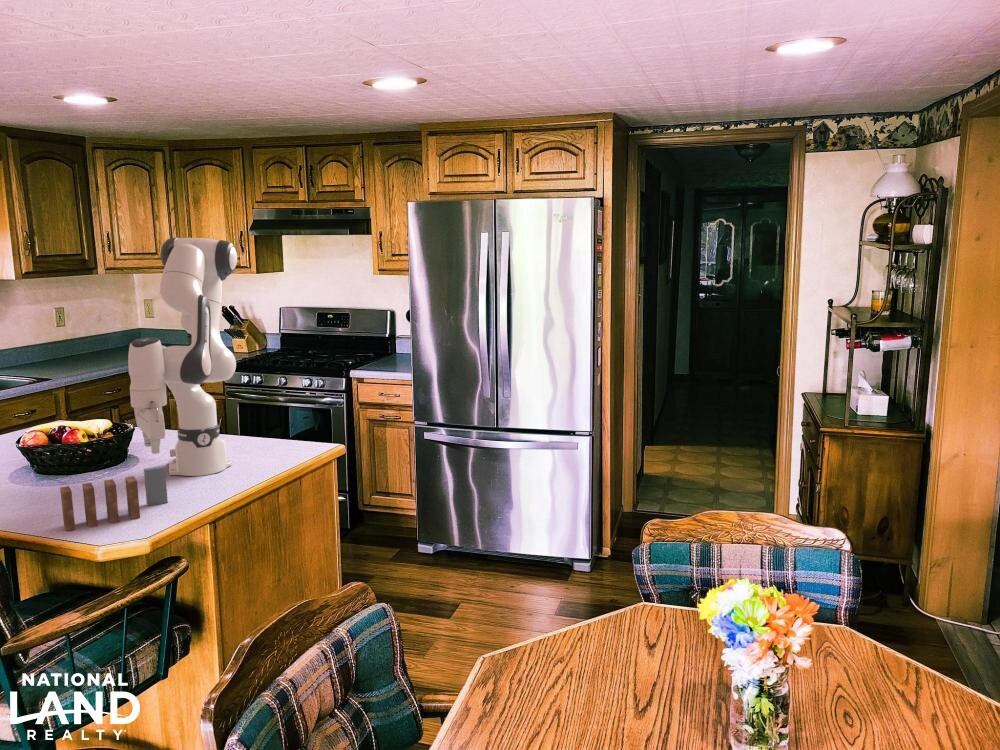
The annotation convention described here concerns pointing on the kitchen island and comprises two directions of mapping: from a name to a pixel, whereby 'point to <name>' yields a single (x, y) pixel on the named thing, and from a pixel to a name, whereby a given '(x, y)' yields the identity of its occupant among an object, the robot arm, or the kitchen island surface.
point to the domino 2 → (89, 504)
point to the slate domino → (155, 485)
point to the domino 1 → (67, 508)
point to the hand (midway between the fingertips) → (151, 449)
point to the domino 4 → (132, 497)
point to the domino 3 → (111, 501)
